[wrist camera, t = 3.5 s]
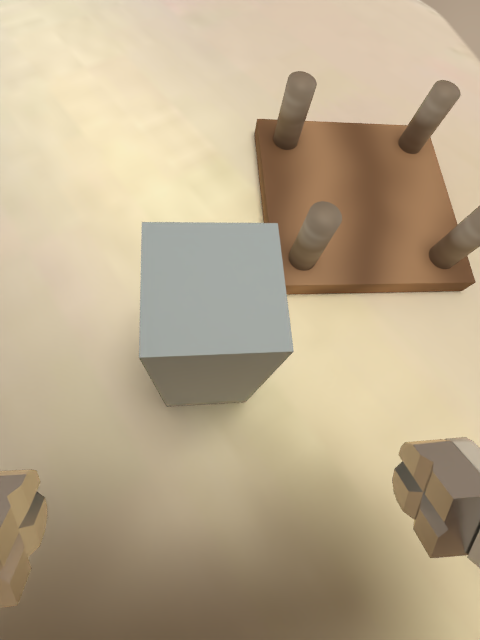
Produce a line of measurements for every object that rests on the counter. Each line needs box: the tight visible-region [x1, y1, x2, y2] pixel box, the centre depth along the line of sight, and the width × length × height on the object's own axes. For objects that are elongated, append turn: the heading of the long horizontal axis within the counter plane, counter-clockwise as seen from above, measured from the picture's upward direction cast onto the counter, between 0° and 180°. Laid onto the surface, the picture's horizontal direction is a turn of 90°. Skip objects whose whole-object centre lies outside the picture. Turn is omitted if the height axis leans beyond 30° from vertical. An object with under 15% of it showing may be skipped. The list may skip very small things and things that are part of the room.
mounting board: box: [255, 71, 480, 294], centre depth 22 cm, size 12×12×5 cm
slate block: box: [139, 222, 294, 406], centre depth 15 cm, size 4×4×10 cm
